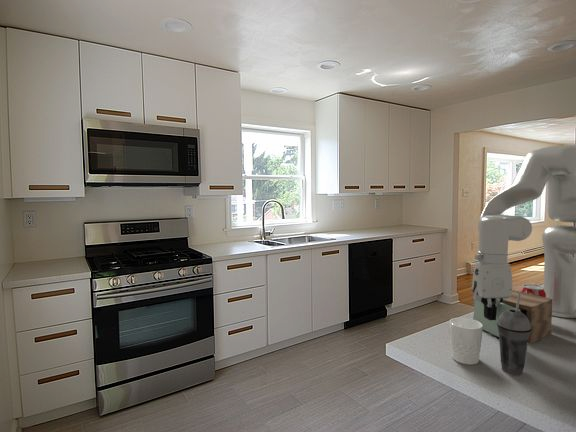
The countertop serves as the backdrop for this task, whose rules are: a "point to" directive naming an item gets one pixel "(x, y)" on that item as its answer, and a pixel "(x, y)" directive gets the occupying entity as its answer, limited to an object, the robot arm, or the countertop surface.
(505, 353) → the beverage cup
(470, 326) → the white cup
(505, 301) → the wooden storage crate
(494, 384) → the countertop surface
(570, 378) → the countertop surface
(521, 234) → the robot arm
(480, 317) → the door
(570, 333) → the countertop surface
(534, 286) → the soda can
